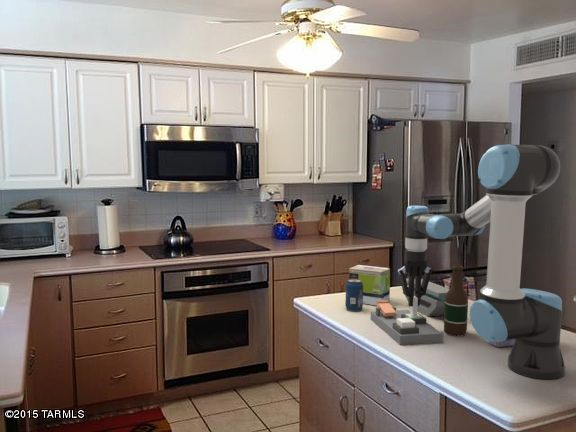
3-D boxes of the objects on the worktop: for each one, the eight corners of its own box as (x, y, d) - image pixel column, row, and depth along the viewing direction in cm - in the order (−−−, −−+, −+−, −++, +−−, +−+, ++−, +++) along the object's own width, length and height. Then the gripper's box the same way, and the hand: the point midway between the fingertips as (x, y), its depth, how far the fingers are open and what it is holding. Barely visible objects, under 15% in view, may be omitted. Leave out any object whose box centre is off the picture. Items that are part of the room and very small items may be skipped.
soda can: (346, 306, 219) (347, 277, 218) (363, 307, 217) (364, 279, 216) (343, 311, 213) (344, 281, 211) (361, 312, 211) (361, 282, 209)
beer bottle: (468, 337, 182) (471, 268, 180) (444, 335, 184) (447, 267, 181) (465, 330, 190) (468, 264, 187) (442, 328, 191) (445, 263, 189)
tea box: (390, 301, 227) (391, 267, 225) (381, 307, 219) (382, 271, 217) (357, 296, 235) (358, 263, 233) (347, 301, 226) (348, 267, 225)
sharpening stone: (401, 304, 223) (402, 278, 222) (418, 302, 226) (418, 277, 224) (437, 321, 200) (438, 293, 198) (455, 319, 202) (456, 291, 201)
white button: (414, 327, 178) (415, 321, 178) (402, 328, 177) (402, 322, 177) (409, 323, 182) (409, 317, 182) (396, 324, 181) (396, 318, 181)
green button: (422, 322, 188) (422, 317, 188) (410, 323, 187) (410, 317, 187) (416, 318, 193) (417, 313, 192) (404, 319, 192) (405, 314, 191)
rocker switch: (395, 315, 194) (396, 311, 193) (384, 316, 193) (384, 311, 192) (386, 304, 202) (387, 299, 201) (375, 304, 201) (376, 300, 200)
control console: (442, 342, 177) (443, 325, 177) (400, 344, 174) (400, 327, 174) (407, 317, 205) (408, 302, 204) (370, 319, 202) (370, 304, 201)
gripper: (428, 247, 192) (425, 310, 195) (394, 248, 189) (392, 312, 192) (438, 251, 185) (435, 317, 187) (402, 252, 182) (400, 318, 185)
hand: (413, 314), depth 190 cm, fingers closed
